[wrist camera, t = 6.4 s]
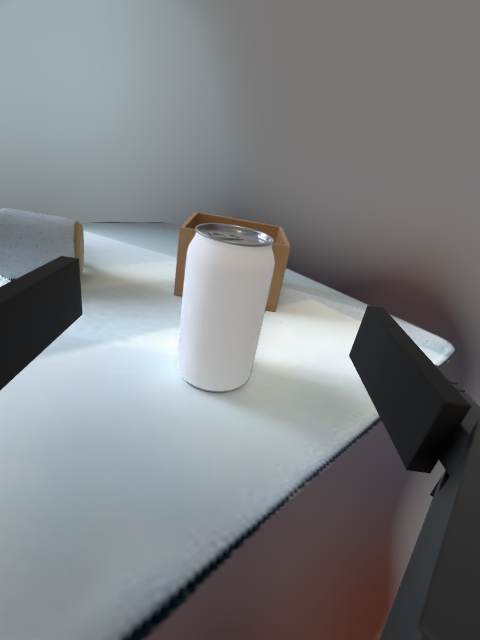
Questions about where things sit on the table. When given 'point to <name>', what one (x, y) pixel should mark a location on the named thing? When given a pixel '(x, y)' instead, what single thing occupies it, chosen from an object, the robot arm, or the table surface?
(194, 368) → the can
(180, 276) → the box
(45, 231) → the ceramic mug
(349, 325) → the table surface
